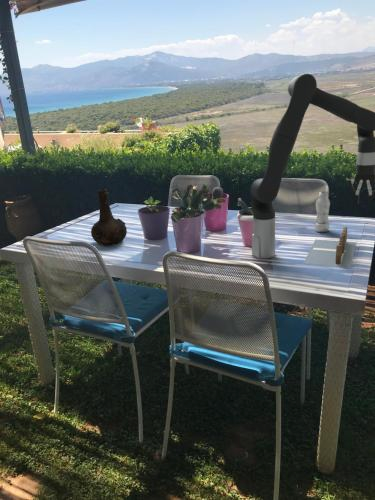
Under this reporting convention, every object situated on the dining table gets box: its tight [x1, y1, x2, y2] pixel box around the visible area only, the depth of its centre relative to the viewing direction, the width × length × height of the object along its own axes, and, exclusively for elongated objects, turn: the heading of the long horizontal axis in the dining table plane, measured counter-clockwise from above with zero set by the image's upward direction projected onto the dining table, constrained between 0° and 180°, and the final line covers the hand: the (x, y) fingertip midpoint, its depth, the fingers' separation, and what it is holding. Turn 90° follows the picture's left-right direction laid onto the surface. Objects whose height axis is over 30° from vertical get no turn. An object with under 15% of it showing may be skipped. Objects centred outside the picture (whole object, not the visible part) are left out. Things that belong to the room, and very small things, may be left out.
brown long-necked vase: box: [90, 188, 128, 247], centre depth 208 cm, size 18×18×28 cm
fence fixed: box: [335, 234, 345, 264], centre depth 170 cm, size 14×2×8 cm, turn 155°
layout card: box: [303, 239, 357, 269], centre depth 178 cm, size 31×18×1 cm, turn 155°
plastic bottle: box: [314, 191, 331, 233], centre depth 202 cm, size 6×7×20 cm
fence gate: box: [339, 226, 348, 248], centre depth 182 cm, size 13×2×7 cm, turn 155°
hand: (363, 203), depth 178 cm, fingers open, 3 cm apart
